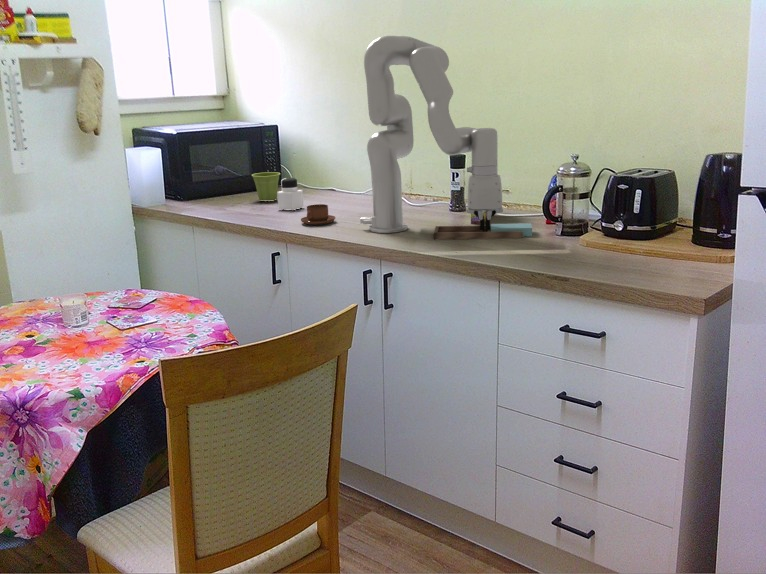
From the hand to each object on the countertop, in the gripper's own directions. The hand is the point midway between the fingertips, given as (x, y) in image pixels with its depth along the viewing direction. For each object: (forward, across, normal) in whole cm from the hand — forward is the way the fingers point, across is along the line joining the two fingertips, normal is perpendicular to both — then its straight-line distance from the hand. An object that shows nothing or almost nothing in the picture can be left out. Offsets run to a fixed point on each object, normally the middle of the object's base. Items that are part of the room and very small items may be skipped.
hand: (485, 232), depth 224 cm
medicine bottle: (+2, -74, +57) cm, 94 cm away
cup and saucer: (+2, -58, +28) cm, 64 cm away
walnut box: (+2, -2, 0) cm, 3 cm away
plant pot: (+2, -90, +78) cm, 118 cm away
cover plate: (+1, +8, 0) cm, 8 cm away
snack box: (+2, -1, +27) cm, 27 cm away
